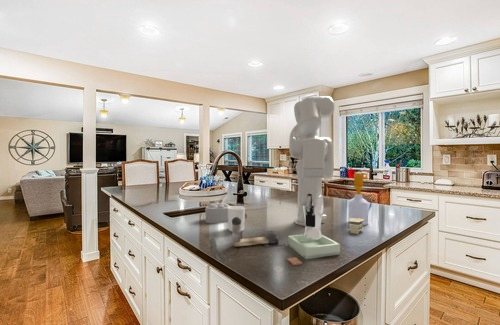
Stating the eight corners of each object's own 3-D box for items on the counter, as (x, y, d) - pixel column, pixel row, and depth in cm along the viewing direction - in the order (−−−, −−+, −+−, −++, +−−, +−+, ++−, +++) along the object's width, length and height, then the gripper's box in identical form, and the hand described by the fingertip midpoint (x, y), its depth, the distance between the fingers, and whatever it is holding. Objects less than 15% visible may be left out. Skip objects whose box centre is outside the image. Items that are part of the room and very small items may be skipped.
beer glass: (311, 241, 84) (312, 196, 84) (298, 235, 91) (299, 193, 90) (327, 238, 88) (327, 195, 87) (313, 232, 94) (314, 192, 94)
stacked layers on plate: (365, 237, 104) (365, 224, 104) (342, 233, 109) (342, 220, 109) (368, 231, 113) (368, 218, 112) (347, 227, 117) (347, 216, 117)
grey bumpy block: (233, 221, 127) (233, 204, 127) (209, 224, 121) (209, 206, 121) (226, 216, 136) (226, 200, 136) (202, 219, 130) (202, 203, 130)
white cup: (242, 232, 108) (242, 209, 108) (225, 231, 110) (225, 208, 110) (246, 227, 116) (246, 206, 116) (230, 226, 118) (230, 205, 117)
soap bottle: (348, 224, 122) (348, 173, 121) (348, 219, 130) (349, 172, 129) (368, 226, 118) (369, 174, 118) (367, 221, 127) (368, 172, 126)
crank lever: (275, 238, 100) (275, 212, 99) (280, 242, 95) (280, 215, 95) (230, 243, 94) (230, 215, 94) (233, 247, 90) (233, 219, 89)
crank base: (277, 238, 102) (277, 236, 102) (309, 263, 78) (309, 261, 78) (258, 240, 99) (258, 238, 99) (285, 266, 76) (285, 264, 76)
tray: (318, 241, 98) (318, 232, 98) (339, 254, 85) (339, 244, 85) (287, 245, 94) (287, 235, 94) (305, 259, 81) (305, 248, 81)
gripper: (309, 171, 98) (308, 217, 99) (295, 174, 83) (295, 228, 83) (329, 172, 95) (328, 219, 95) (318, 175, 79) (318, 232, 80)
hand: (312, 223), depth 89 cm, fingers closed on beer glass, 6 cm apart
